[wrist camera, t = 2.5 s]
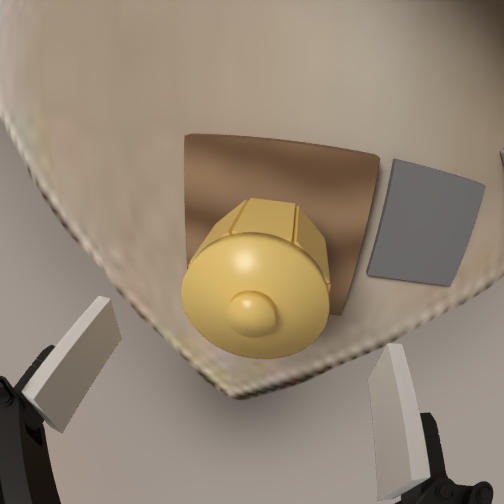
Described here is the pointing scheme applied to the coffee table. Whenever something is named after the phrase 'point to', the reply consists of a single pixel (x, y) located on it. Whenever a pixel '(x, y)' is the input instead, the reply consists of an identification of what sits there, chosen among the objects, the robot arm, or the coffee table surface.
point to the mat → (424, 224)
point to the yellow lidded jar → (259, 281)
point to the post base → (283, 192)
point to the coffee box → (502, 154)
